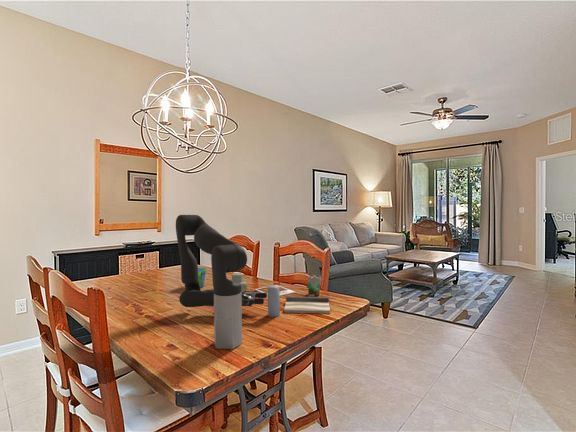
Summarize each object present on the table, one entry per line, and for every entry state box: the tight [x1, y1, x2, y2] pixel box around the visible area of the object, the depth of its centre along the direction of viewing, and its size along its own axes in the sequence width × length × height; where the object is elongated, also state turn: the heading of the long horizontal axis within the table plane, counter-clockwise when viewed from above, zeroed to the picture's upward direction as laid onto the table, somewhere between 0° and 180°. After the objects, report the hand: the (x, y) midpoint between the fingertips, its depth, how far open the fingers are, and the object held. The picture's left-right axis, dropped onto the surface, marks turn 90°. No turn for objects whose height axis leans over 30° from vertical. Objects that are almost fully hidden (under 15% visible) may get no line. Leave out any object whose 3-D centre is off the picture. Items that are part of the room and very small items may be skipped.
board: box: [283, 296, 331, 314], centre depth 141 cm, size 14×20×3 cm
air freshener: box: [231, 272, 249, 293], centre depth 168 cm, size 11×8×10 cm
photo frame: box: [254, 284, 296, 297], centre depth 169 cm, size 15×1×18 cm
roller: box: [267, 284, 281, 318], centre depth 132 cm, size 5×5×12 cm
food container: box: [307, 273, 322, 297], centre depth 161 cm, size 12×6×10 cm, turn 168°
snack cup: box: [198, 267, 207, 289], centre depth 180 cm, size 16×10×10 cm
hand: (265, 298), depth 132 cm, fingers open, 8 cm apart
